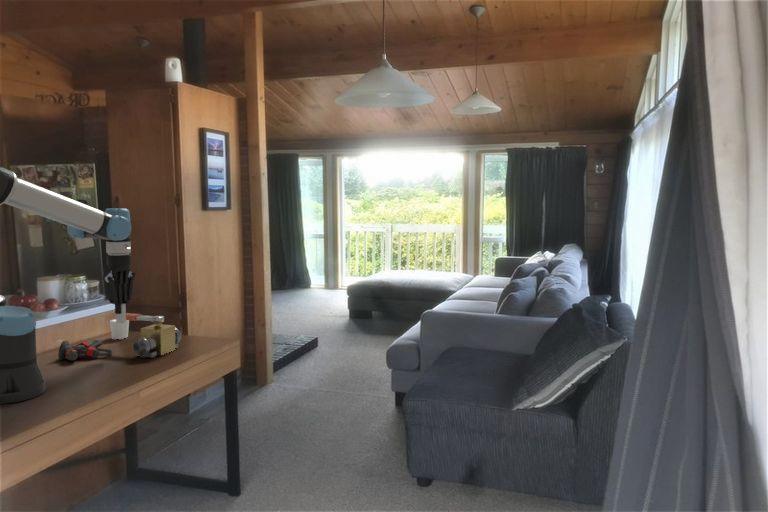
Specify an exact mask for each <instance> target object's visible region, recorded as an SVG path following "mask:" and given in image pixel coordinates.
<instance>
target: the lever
mask: <svg viewBox="0 0 768 512" xmlns="http://www.w3.org/2000/svg"><path fill="white" fill-rule="evenodd" d="M126 320H129V322H130V321H133V322H137V321H147V322H151V323H153V324H154V323H159V322H162V323H164V322H165V316H164V315H145V314H142V313H133V312H132V313H131V312H126Z"/></svg>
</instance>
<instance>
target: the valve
mask: <svg viewBox="0 0 768 512" xmlns="http://www.w3.org/2000/svg"><path fill="white" fill-rule="evenodd" d="M102 343H104V339H101V340H100V339H98V338H96V339H94V340H93V341H90V342H89V343H87V342H85V341H81V342H80V343H78V344H76V345H70V342H69V341H68V340H63V341H62V342H61V343H60V346H59V349H58V353H57V356H58V357H57V358H58V360H60V361H62V360H65V359H67V360H68V361H71V362H72V361H75V360H77V359H78V358H80V359H82V358H83V359H86V360H95V359H98V358H99V357H107V356H111V355H113V351H112V349H107V348H102V347H97V346H99V345H101V344H102ZM65 357H66V358H65Z"/></svg>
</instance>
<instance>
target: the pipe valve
mask: <svg viewBox="0 0 768 512" xmlns="http://www.w3.org/2000/svg"><path fill="white" fill-rule="evenodd" d="M181 340H182V332H181V331H180V329H178V328H177V327H176V325H172V324H163V322H159V323H154V322H153V324H151V325H146V326H145V327H144V326H143V327H141V328H140V337H139V338H136V340H134V342H133V346H132V349H133V351H134V353H135V354H136V357H137V356H140V357H139V358H145V357H151V358H150V359H154V358H156V357H155V356H157V355H163V356H165V355H167V354H170V353H172V352H175V351H176V349H175V348H177V349H179V342H180V341H181ZM174 350H175V351H174ZM171 351H172V352H171ZM169 352H170V353H169ZM166 353H167V354H166ZM164 354H165V355H164ZM153 357H154V358H153ZM157 357H158V356H157Z"/></svg>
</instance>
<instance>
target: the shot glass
mask: <svg viewBox="0 0 768 512" xmlns="http://www.w3.org/2000/svg"><path fill="white" fill-rule="evenodd" d="M109 325H110V334H111V339H112V340H116V339H119V340H125V339H124V338H126V339H128V338H129V328H130V320H126V323H116V318H113V319H110V320H109ZM127 337H128V338H127Z"/></svg>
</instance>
